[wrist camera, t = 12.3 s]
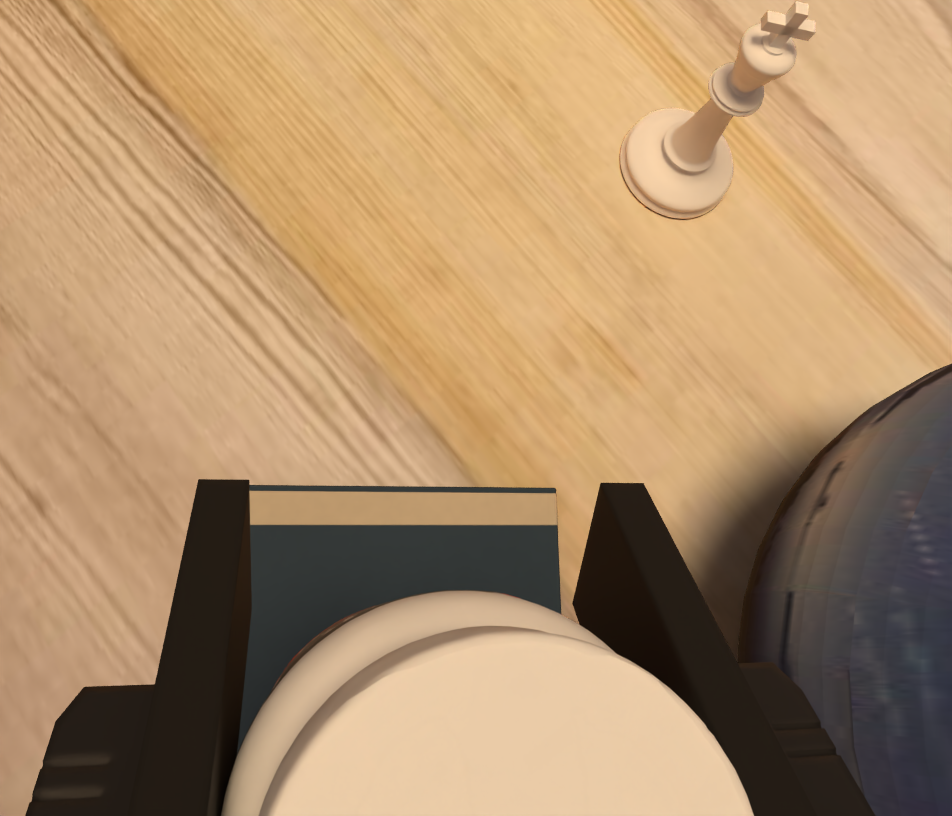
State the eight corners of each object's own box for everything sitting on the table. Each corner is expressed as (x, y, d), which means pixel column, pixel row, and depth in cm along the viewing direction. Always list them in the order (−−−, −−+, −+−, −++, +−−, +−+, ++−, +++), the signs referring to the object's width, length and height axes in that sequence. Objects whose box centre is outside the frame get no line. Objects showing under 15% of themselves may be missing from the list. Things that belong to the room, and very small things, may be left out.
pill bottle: (555, 615, 18) (833, 605, 9) (536, 920, 16) (848, 1318, 7) (274, 589, 17) (239, 544, 8) (228, 909, 16) (113, 1350, 6)
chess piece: (726, 228, 37) (874, 90, 27) (616, 208, 36) (728, 59, 26) (729, 126, 38) (870, -40, 28) (622, 105, 37) (731, -74, 28)
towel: (574, 1036, 28) (579, 1045, 28) (191, 1079, 26) (188, 1090, 25) (552, 490, 33) (556, 487, 32) (221, 486, 30) (220, 484, 30)
